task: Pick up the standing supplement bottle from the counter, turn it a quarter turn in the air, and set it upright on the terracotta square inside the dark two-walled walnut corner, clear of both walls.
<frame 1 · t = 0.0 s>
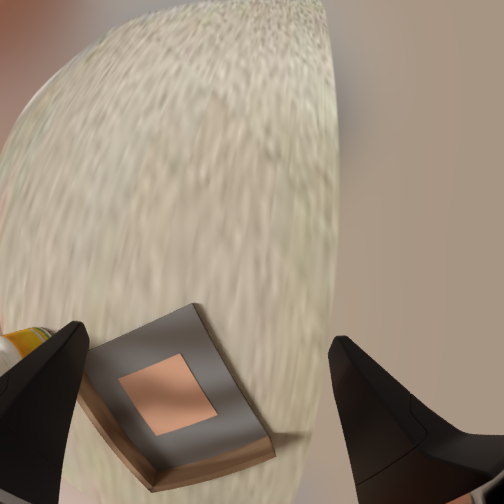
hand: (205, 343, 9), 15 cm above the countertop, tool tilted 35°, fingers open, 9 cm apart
supplement bottle: (44, 349, 21), on the countertop
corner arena: (169, 405, 22), on the countertop
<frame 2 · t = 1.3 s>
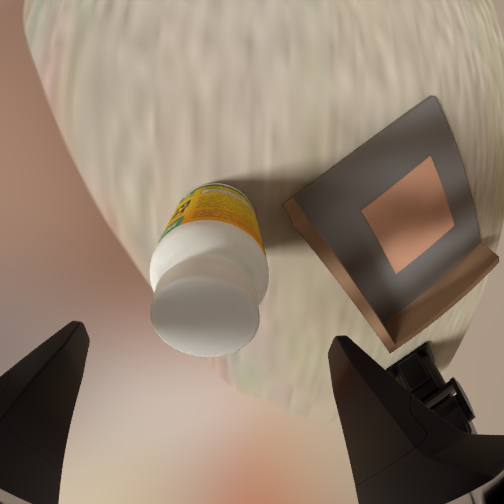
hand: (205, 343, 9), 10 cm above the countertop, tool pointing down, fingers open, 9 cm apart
supplement bottle: (215, 219, 18), on the countertop
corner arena: (409, 227, 19), on the countertop
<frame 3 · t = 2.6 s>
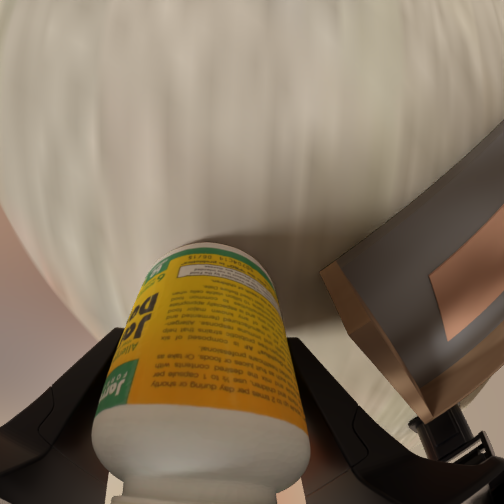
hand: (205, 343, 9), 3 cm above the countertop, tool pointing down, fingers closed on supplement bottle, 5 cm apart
supplement bottle: (210, 293, 11), on the countertop, touching gripper
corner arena: (473, 285, 12), on the countertop
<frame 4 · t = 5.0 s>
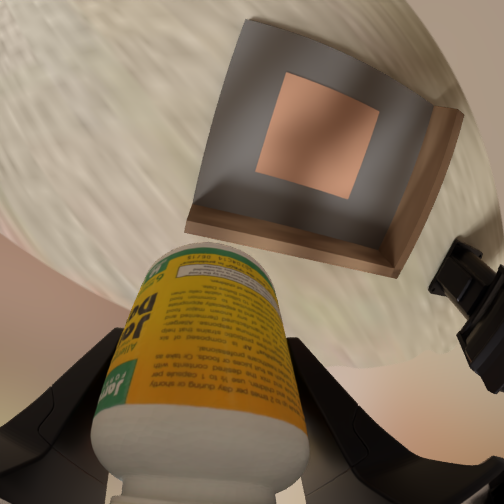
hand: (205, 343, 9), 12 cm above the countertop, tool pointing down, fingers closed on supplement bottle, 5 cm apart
supplement bottle: (209, 293, 11), point 9 cm above the countertop, touching gripper
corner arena: (328, 148, 18), on the countertop
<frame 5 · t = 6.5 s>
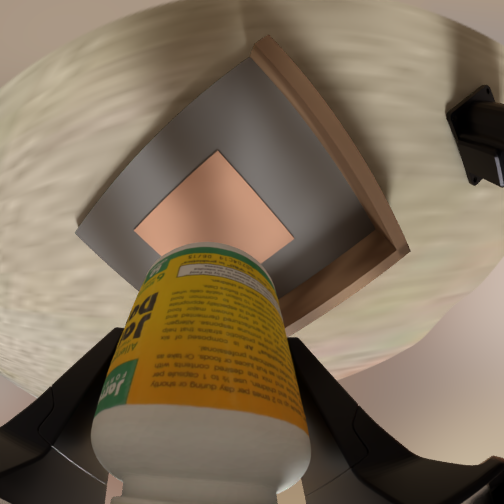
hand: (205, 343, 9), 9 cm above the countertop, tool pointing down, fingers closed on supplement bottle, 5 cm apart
supplement bottle: (209, 293, 11), point 7 cm above the countertop, touching gripper
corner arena: (231, 224, 17), on the countertop
when the fingers open (4 cm above the countertop, at t = 7.8 s): supplement bottle stays where it is, resting on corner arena.
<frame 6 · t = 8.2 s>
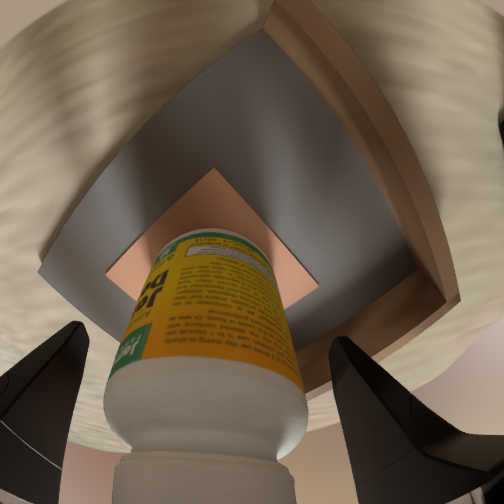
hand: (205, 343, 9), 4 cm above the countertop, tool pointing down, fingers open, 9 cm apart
supplement bottle: (213, 278, 12), point 1 cm above the countertop, touching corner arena
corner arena: (234, 268, 12), on the countertop
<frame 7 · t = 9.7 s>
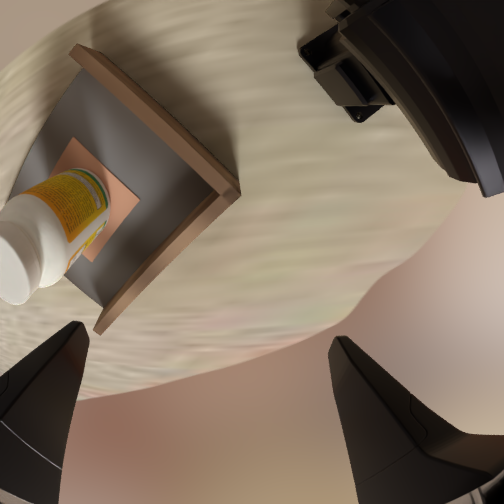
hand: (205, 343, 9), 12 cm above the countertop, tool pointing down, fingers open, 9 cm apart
supplement bottle: (82, 201, 17), point 1 cm above the countertop, touching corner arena
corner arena: (95, 194, 17), on the countertop
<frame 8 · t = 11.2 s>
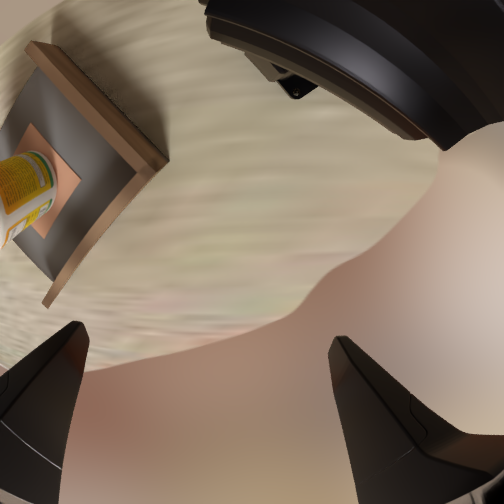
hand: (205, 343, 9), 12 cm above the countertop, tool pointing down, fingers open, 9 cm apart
supplement bottle: (36, 181, 16), point 1 cm above the countertop, touching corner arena
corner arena: (47, 175, 16), on the countertop
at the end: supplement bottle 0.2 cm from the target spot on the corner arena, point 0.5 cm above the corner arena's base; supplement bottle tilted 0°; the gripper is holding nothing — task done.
